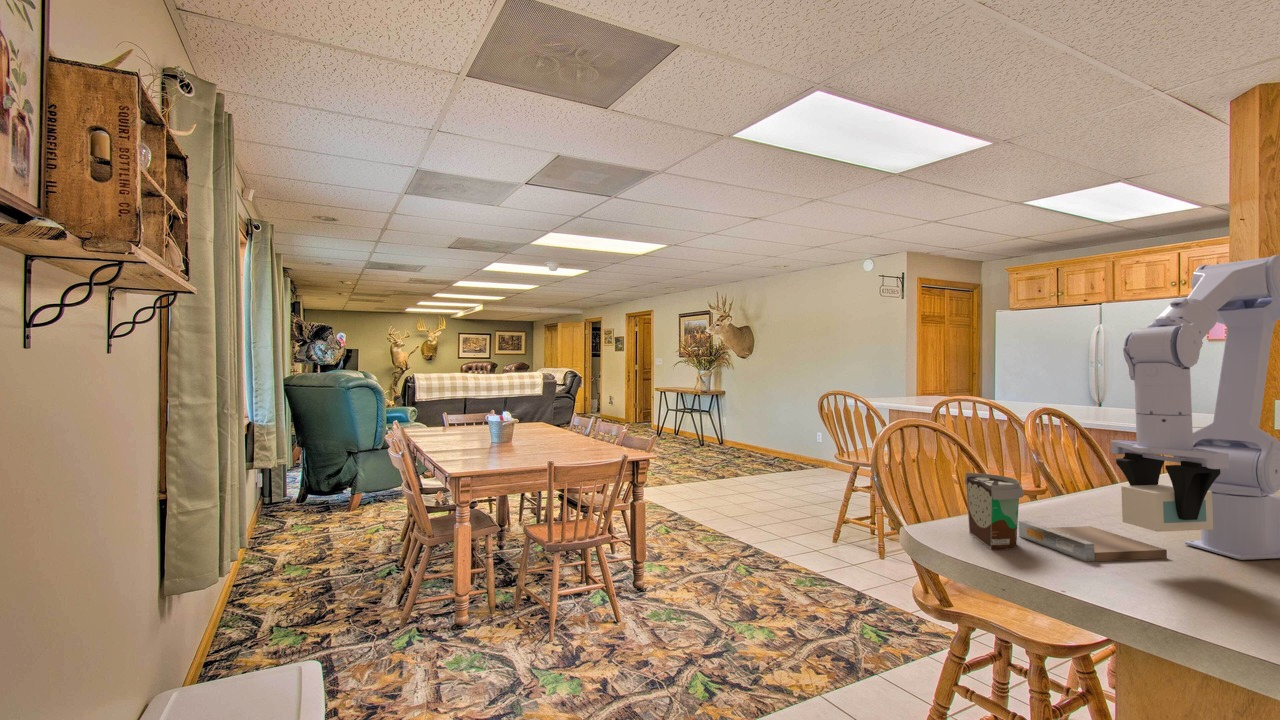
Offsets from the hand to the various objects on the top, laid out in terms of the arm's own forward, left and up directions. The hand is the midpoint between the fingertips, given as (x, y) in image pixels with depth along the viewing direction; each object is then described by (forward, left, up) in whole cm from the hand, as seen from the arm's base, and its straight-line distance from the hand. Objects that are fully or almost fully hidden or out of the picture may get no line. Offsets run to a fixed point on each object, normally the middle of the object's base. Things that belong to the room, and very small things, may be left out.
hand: (1166, 514), depth 79 cm
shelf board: (+1, -11, -8) cm, 13 cm away
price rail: (+7, -11, -8) cm, 15 cm away
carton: (0, 0, -2) cm, 2 cm away
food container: (+13, -15, -8) cm, 21 cm away
